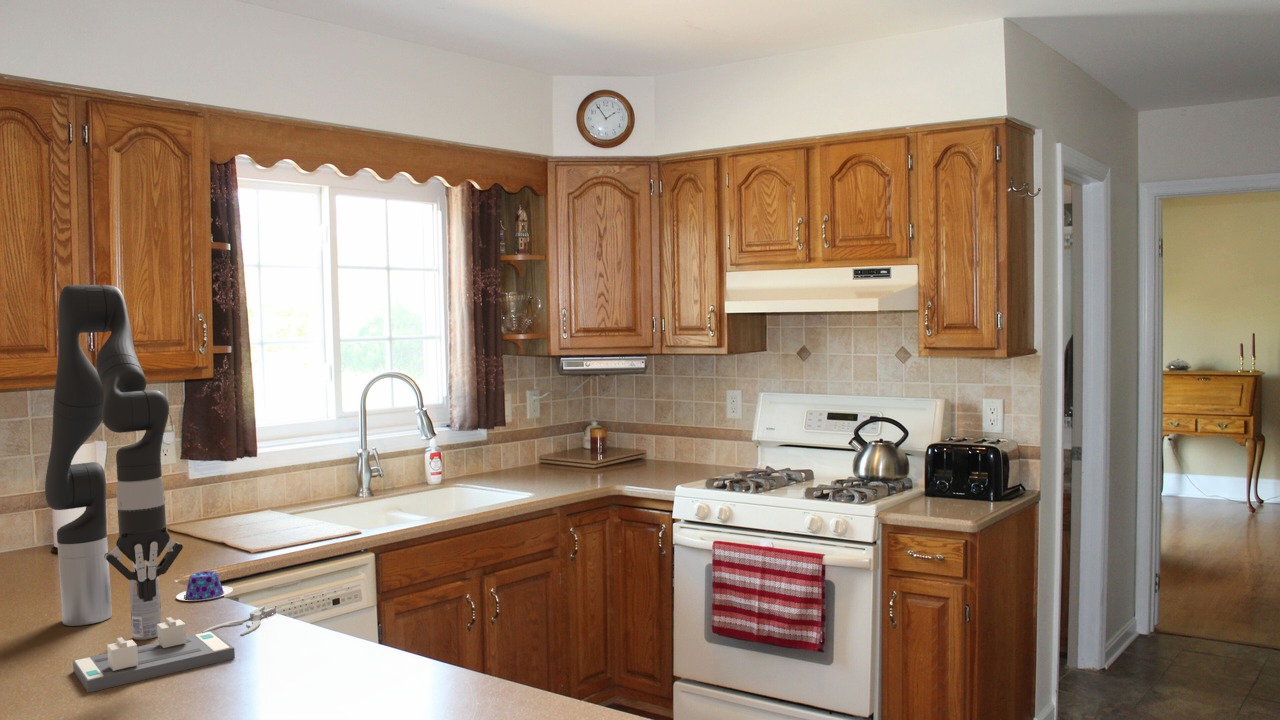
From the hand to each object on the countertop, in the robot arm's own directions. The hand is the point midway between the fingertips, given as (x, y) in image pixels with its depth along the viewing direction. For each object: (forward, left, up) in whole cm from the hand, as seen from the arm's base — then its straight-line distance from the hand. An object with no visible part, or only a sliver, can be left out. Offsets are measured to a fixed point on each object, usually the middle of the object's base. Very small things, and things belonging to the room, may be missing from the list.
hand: (146, 600), depth 179 cm
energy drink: (-23, +4, -13) cm, 27 cm away
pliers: (-18, +22, -13) cm, 31 cm away
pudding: (-47, +22, -13) cm, 54 cm away
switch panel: (-3, +1, -13) cm, 13 cm away
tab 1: (0, -4, -11) cm, 11 cm away
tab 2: (-7, +5, -11) cm, 14 cm away
